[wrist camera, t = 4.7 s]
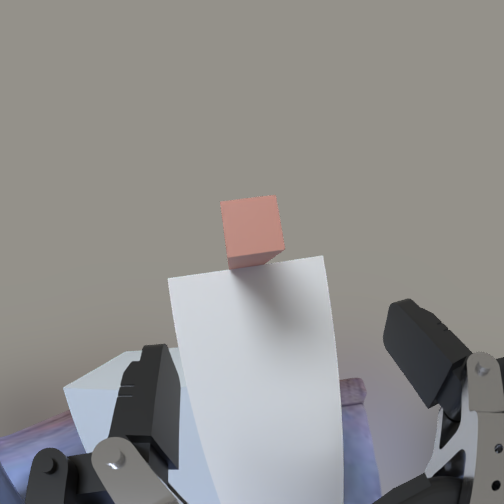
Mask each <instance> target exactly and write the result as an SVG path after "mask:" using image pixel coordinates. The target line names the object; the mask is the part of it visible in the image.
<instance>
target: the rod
mask: <svg viewBox="0 0 504 504" xmlns="http://www.w3.org/2000/svg"><path fill="white" fill-rule="evenodd" d="M220 204H221V211H222V220H223V228H224V236H225V243H226V250H227V258H228V265H229V270H230V269H237V268H244V267H251V266H258V265H264V264H265V263H266V262H268V261H269V260H271V259H272V258H274V257H275V256H276V255H278V254H279V253H281V252H282V251H283V250H285V246H284V239H283V234H282V228H281V222H280V217H279V211H278V205H277V200H276V195H270V196H261V197H254V198H245V199H237V200H230V201H222V202H220Z"/></svg>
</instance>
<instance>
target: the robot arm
mask: <svg viewBox="0 0 504 504" xmlns="http://www.w3.org/2000/svg"><path fill="white" fill-rule="evenodd" d="M383 342H384V346H385V348H386V350H387V351H388V353H389V354H390V355H391V357H392V358H393V359H394V361H395V362H396V364H397V365H398V366H399V368H400V369H401V371H402V372H403V373H404V375H405V376H406V378H407V379H408V380H409V382H410V383H411V384H412V386H413V387H414V389H415V390H416V392H417V393H418V395H419V396H420V398H421V399H422V401H423V402H424V403H425V405H426V406H427V408H428V409H429V408H431V407H433V406H435V405H436V404H438V403H439V404H440V406H441V408H440V410H439V413H438V423H437V431H436V439H435V445H434V452H433V455H432V458H431V460H430V462H429V464H428V466H427V468H426V470H425V473H423V474H421V475H419V476H417V477H416V478H414V479H412V480H410V481H408V482H406V483H404V484H402V485H400V486H398V487H396V488H393V489H392V490H391V491H389V492H388V493H387V494H385V495H384V496H383V497H381V498H380V499H378V500H377V501H375V502H374V503H373V504H504V357H503V358H499V359H495V358H494V357H493V356H491V355H490V354H488V353H484V352H476V353H472V352H471V351H470V350H469V349H468V348H467V347H466V346H465V345H464V344H463V343H462V342H461V341H460V340H459V339H458V338H457V337H456V336H455V335H454V334H453V333H452V332H451V331H450V330H448V328H447V327H446V326H445V325H444V324H442V323H441V321H440V320H439V319H438V318H437V317H436V316H435V315H434V314H433V313H431V312H429V311H427V310H425V309H423V308H420V307H419V306H418V305H417V304H416V303H415V302H414V301H413V300H411V299H405V300H401V301H398V302H394V303H392V304H391V305H390V307H389V311H388V316H387V320H386V325H385V330H384V335H383ZM120 385H121V387H120V388H119V392H118V397H117V400H116V404H115V408H114V413H113V417H112V422H111V427H110V431H109V435H108V438H106V439H104V440H102V441H101V442H99V443H98V444H97V445H96V447H95V448H94V450H93V452H90V453H86V454H81V455H75V456H68V457H66V456H65V455H64V454H63V453H62V452H61V451H59V450H57V449H55V448H45V449H43V450H41V451H39V452H38V453H37V454H36V456H35V457H34V459H33V462H32V466H31V471H30V476H29V481H28V487H27V493H26V499H25V502H24V501H23V499H22V498H21V496H20V495H19V493H18V492H17V490H16V489H15V487H14V485H13V484H12V482H11V480H10V479H9V477H8V475H7V473H6V472H5V470H4V468H3V466H2V464H1V462H0V504H189V503H188V502H187V501H186V500H185V499H184V498H183V497H182V496H181V495H180V494H179V493H178V491H177V490H176V489H175V488H174V487H173V486H172V485H171V484H170V483H169V481H168V470H179V421H180V396H181V386H180V379H179V375H178V372H177V370H176V367H175V365H174V362H173V360H172V357H171V354H170V352H169V349H168V347H167V345H166V344H158V345H145V346H144V347H143V349H142V353H141V357H140V361H132V362H131V363H130V364H129V366H128V367H127V368H126V370H125V371H124V372H123V376H122V380H121V384H120Z"/></svg>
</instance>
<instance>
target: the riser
mask: <svg viewBox="0 0 504 504" xmlns="http://www.w3.org/2000/svg"><path fill="white" fill-rule="evenodd" d="M168 285H169V292H170V299H171V306H172V312H173V318H174V324H175V330H176V336H177V341H178V348H168V349H169V352H170V354H171V357H172V360H173V362H174V365H175V367H176V370H177V372H178V375H179V379H180V386H181V396H180V421H179V470H168V481H169V483H170V484H171V485H172V486H173V487H174V488H175V489H176V490H177V491H178V493H179V494H180V495H181V496H182V497H183V498H184V499H185V500H186V501H187V502H188V503H189V504H343V497H344V463H343V431H342V412H341V398H340V385H339V373H338V363H337V354H336V344H335V335H334V327H333V319H332V311H331V304H330V297H329V291H328V284H327V277H326V271H325V265H324V259H323V256H317V257H310V258H304V259H298V260H292V261H284V262H278V263H271V264H264V265H258V266H251V267H244V268H237V269H230V270H224V271H217V272H210V273H203V274H195V275H188V276H181V277H174V278H168ZM141 353H142V351H128V352H124V353H122V354H121V355H119V356H117V357H115V358H114V359H112V360H110V361H108V362H107V363H105V364H103V365H102V366H100V367H98V368H96V369H95V370H93V371H91V372H89V373H88V374H86V375H84V376H83V377H81V378H79V379H77V380H76V381H74V382H72V383H70V384H69V385H67V386H65V387H63V389H64V392H65V396H66V399H67V402H68V405H69V408H70V411H71V414H72V417H73V420H74V423H75V426H76V428H77V431H78V433H79V436H80V438H81V441H82V443H83V446H84V448H85V450H86V453H90V452H93V450H94V448H95V447H96V445H97V444H98V443H99V442H101V441H102V440H104V439H106V438H108V435H109V431H110V427H111V422H112V417H113V413H114V408H115V404H116V400H117V397H118V392H119V388H120V387H121V385H120V384H121V380H122V376H123V372H124V371H125V370H126V368H127V367H128V366H129V364H130V363H131V362H132V361H140V357H141Z"/></svg>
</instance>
